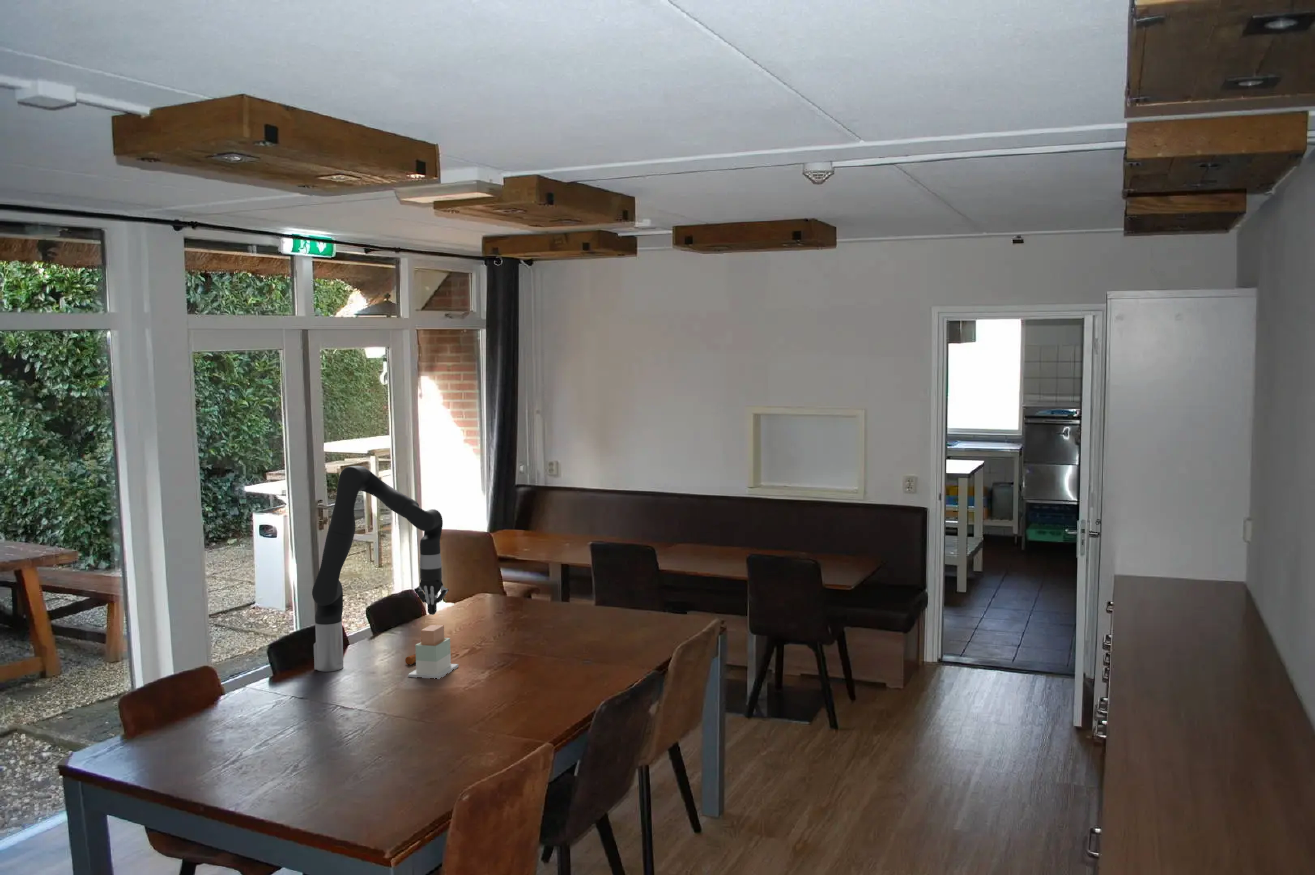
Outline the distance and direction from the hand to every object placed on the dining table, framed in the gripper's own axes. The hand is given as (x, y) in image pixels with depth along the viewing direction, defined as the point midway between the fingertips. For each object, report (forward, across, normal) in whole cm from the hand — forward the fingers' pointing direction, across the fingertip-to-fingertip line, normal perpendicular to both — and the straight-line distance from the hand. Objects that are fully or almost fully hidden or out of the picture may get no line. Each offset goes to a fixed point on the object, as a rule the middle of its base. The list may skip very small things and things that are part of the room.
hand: (432, 614), depth 374 cm
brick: (+11, 0, 0) cm, 11 cm away
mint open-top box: (+21, 0, 0) cm, 21 cm away
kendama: (+21, +11, -16) cm, 29 cm away
